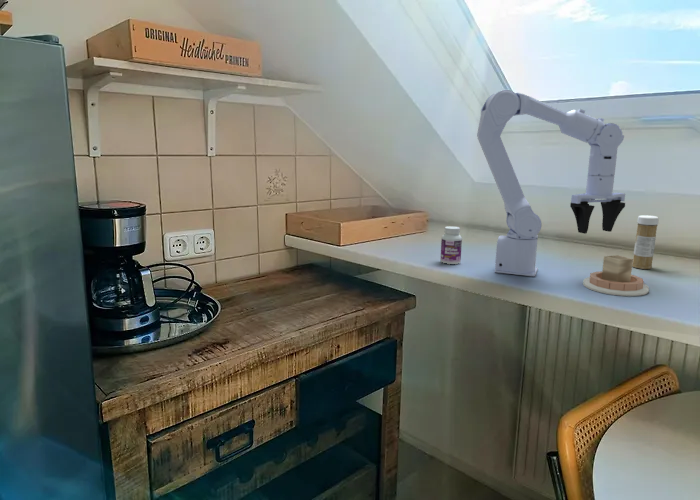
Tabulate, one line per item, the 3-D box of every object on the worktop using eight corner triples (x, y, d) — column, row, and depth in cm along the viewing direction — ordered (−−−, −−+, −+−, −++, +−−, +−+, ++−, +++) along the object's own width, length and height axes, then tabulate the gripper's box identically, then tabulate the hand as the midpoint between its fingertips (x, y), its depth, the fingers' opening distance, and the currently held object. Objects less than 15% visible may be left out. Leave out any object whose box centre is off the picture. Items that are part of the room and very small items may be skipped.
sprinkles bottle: (638, 264, 130) (644, 214, 127) (655, 268, 126) (662, 216, 123) (627, 266, 128) (634, 215, 125) (645, 270, 124) (652, 217, 121)
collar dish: (582, 291, 107) (583, 281, 106) (583, 276, 118) (584, 267, 118) (651, 299, 101) (653, 288, 101) (645, 283, 113) (647, 273, 112)
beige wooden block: (615, 287, 107) (619, 260, 106) (601, 282, 111) (604, 256, 109) (629, 285, 108) (633, 259, 107) (614, 280, 112) (617, 255, 111)
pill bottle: (444, 265, 129) (445, 229, 127) (437, 260, 134) (439, 226, 132) (463, 264, 130) (465, 228, 128) (456, 260, 135) (458, 225, 133)
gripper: (590, 177, 110) (583, 236, 113) (638, 175, 115) (631, 232, 118) (566, 175, 117) (561, 231, 120) (613, 174, 121) (607, 228, 124)
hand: (594, 231), depth 119 cm, fingers open, 7 cm apart
